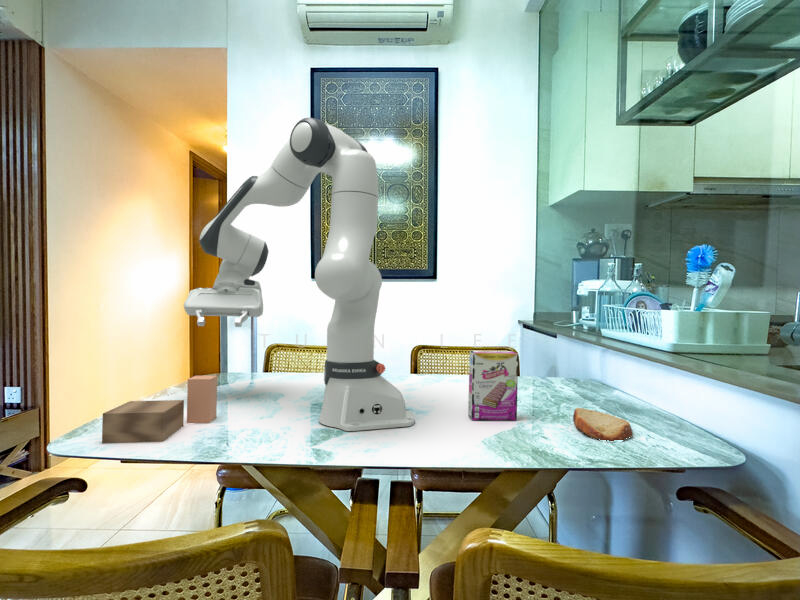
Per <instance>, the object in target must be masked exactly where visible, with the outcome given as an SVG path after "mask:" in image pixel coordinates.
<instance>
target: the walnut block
mask: <svg viewBox="0 0 800 600" xmlns="http://www.w3.org/2000/svg"><path fill="white" fill-rule="evenodd" d="M184 408H185V400H184V399H179V400H178V399H175V400H171V399H169V400H168V399H166V400H162V399H161V400H130V401H128V402H126V403H123V404H121V405H118V406H117V407H114V408H111V409H110V410H107V411H105V412H104V413H102V427H101V428H102V429H101V430H102V431H101V432H102V434H101V444H103V445H104V444H105V445H106V444H129V443H131V444H134V443H135V444H137V443H164V442H165V441H166V440H168V439H169V438H170V437H172V436H173V435H174V434H175V433H176V432H178V431H179V430H181V429H182V428H184V422H185V421H184V418H185V417H184V413H185V409H184ZM181 427H182V428H181Z"/></svg>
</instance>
